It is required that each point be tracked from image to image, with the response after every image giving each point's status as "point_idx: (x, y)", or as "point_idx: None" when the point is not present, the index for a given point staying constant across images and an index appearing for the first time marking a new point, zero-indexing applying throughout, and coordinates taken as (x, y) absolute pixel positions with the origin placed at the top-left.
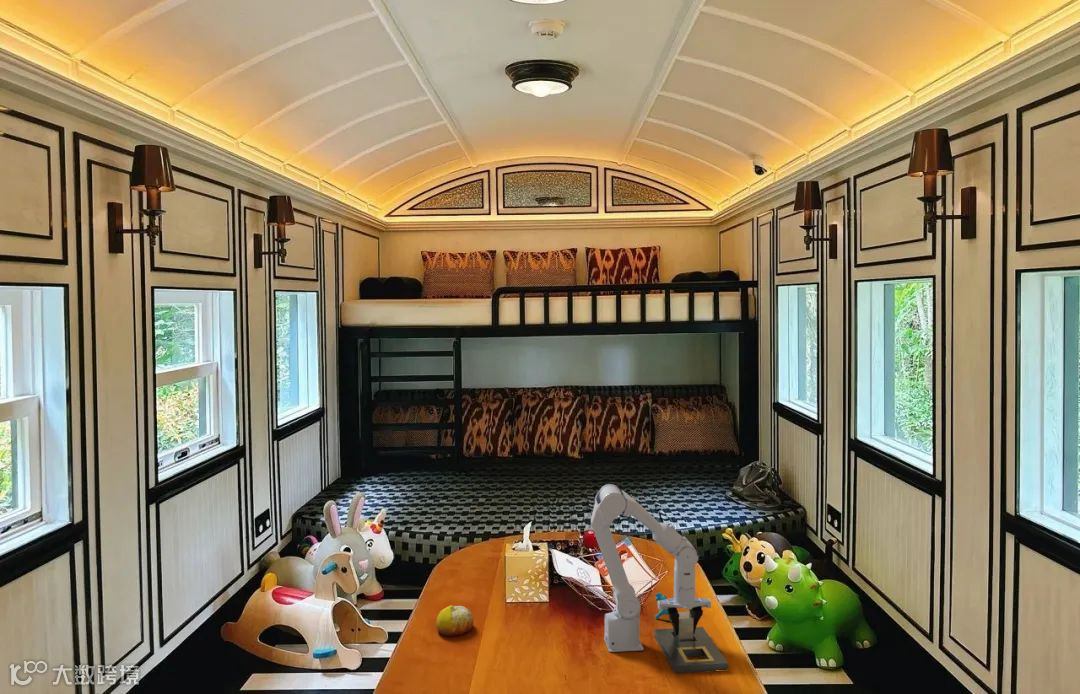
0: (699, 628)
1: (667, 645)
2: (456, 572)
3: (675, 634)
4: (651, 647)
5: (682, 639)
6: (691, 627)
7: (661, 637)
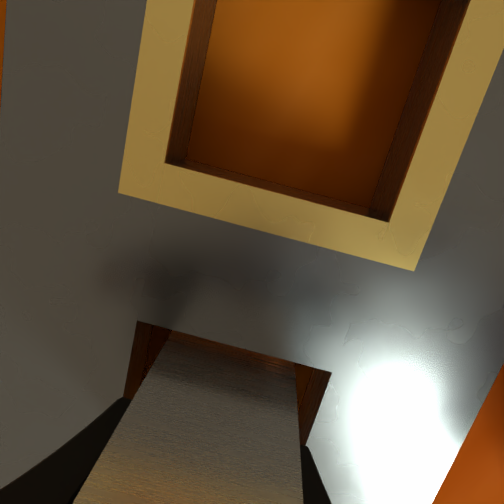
0: None
1: (463, 350)
2: None
3: (311, 456)
4: (497, 428)
5: (261, 384)
6: (132, 451)
7: (417, 483)
